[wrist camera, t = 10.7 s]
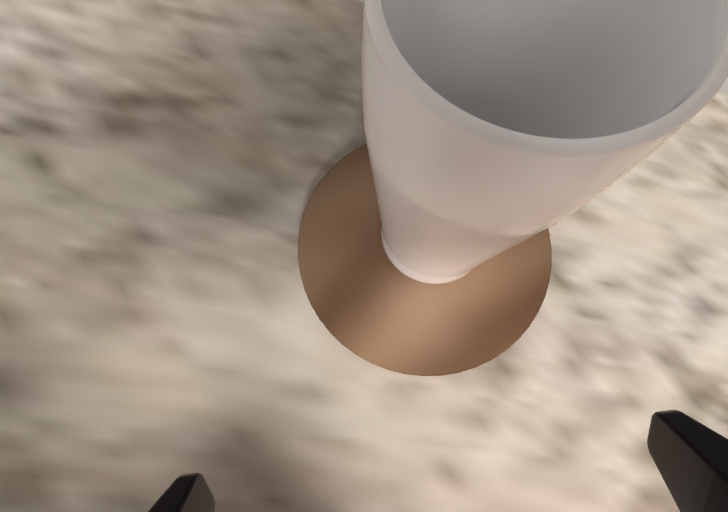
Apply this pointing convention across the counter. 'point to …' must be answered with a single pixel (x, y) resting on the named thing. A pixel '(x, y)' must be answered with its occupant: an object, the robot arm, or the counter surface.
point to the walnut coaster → (409, 286)
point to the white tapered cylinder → (520, 112)
